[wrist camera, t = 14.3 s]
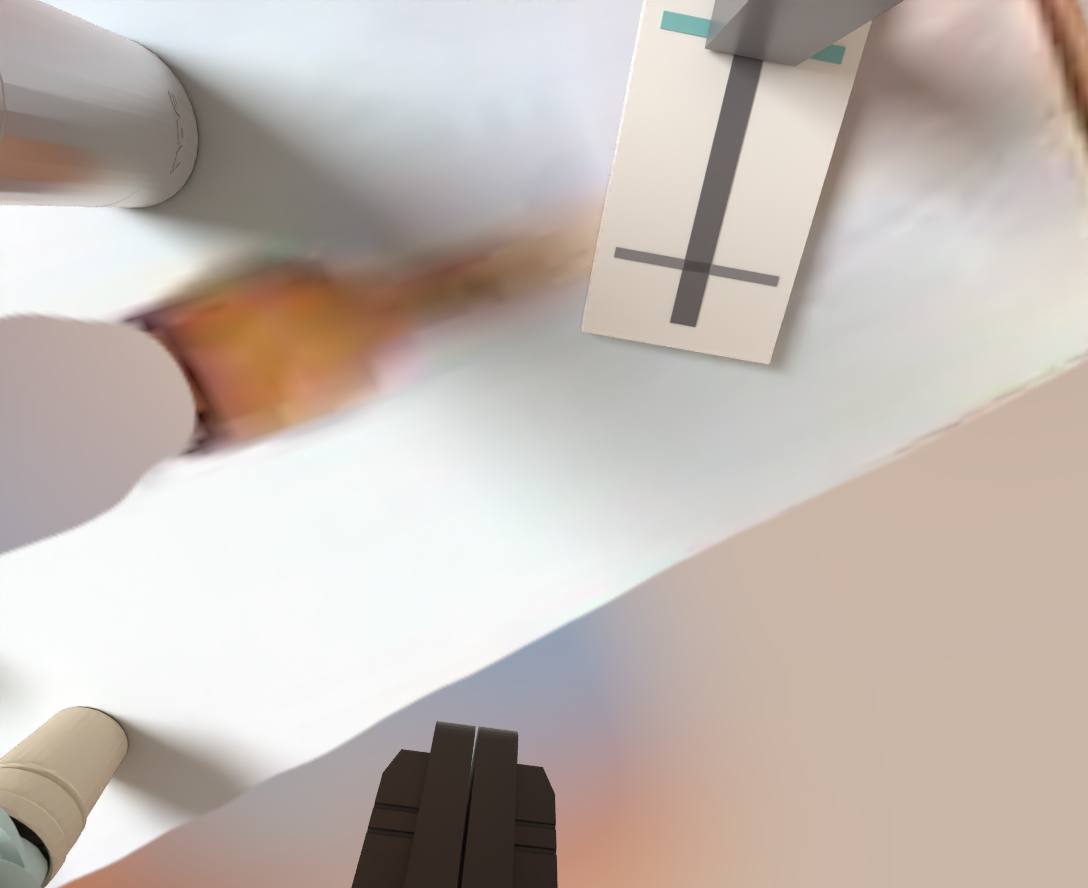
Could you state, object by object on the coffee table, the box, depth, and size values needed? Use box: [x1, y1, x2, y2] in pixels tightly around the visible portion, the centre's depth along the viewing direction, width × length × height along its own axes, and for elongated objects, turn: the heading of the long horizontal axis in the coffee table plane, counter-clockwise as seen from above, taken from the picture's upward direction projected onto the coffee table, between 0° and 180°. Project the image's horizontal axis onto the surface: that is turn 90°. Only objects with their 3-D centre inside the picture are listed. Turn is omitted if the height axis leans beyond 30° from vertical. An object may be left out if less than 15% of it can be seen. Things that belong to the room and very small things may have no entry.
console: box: [581, 0, 873, 364], centre depth 36 cm, size 12×26×2 cm, turn 170°
